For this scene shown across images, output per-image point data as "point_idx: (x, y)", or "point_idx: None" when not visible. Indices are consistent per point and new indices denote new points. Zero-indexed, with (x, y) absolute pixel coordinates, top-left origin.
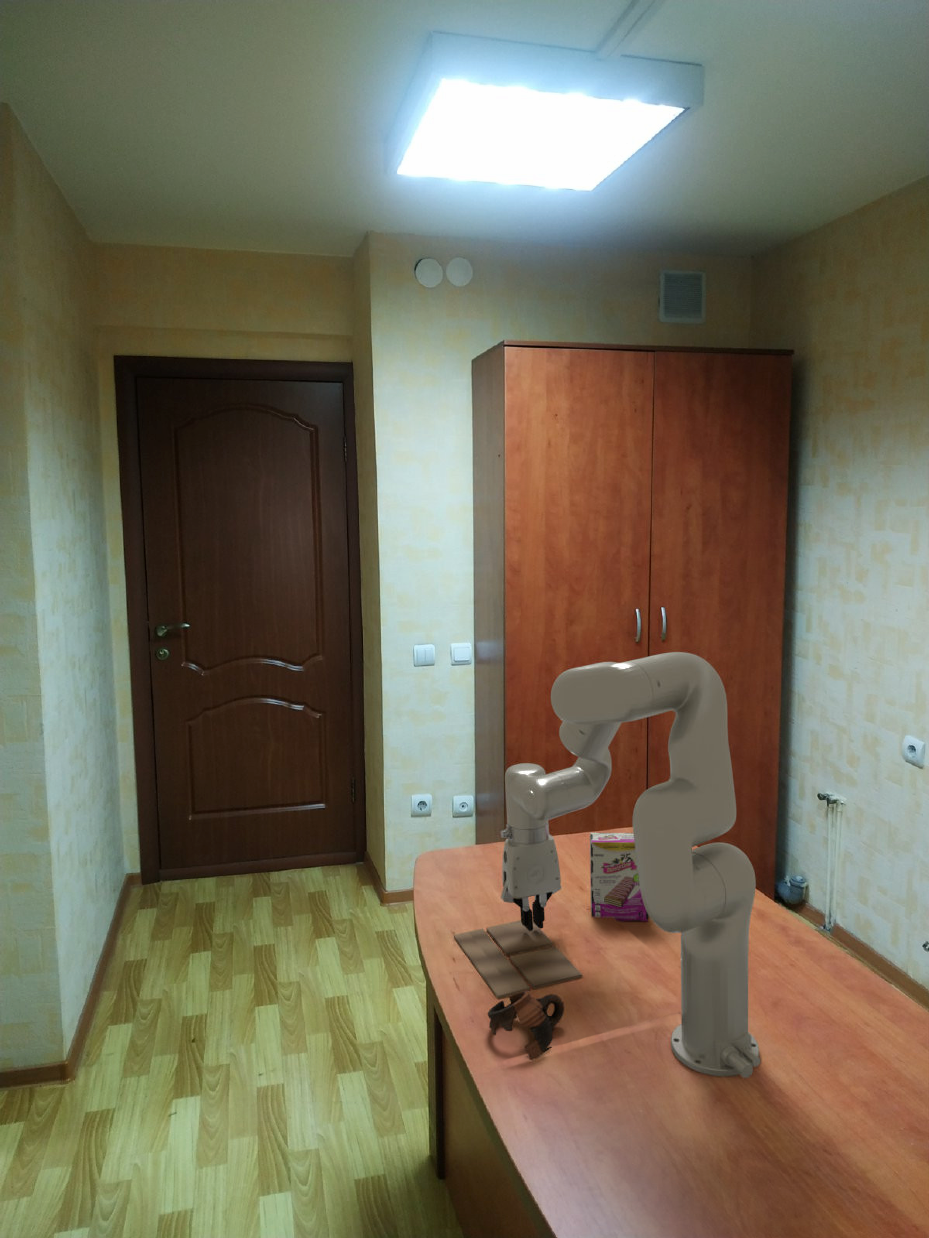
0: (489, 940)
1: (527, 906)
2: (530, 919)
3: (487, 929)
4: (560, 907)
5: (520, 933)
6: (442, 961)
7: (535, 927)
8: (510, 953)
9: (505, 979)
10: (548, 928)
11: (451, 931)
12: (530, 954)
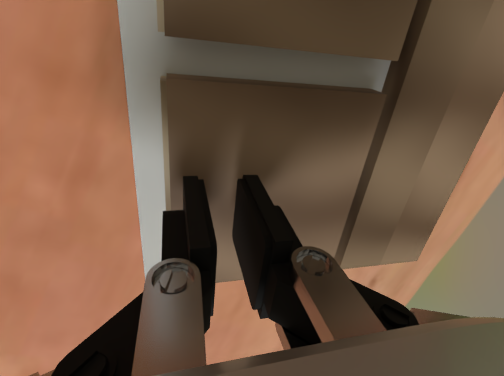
0: (368, 203)
1: (303, 272)
2: (267, 205)
3: None
4: (14, 337)
5: None
6: (484, 174)
7: None
8: (369, 92)
9: None
10: (114, 234)
11: (372, 288)
12: (319, 28)
